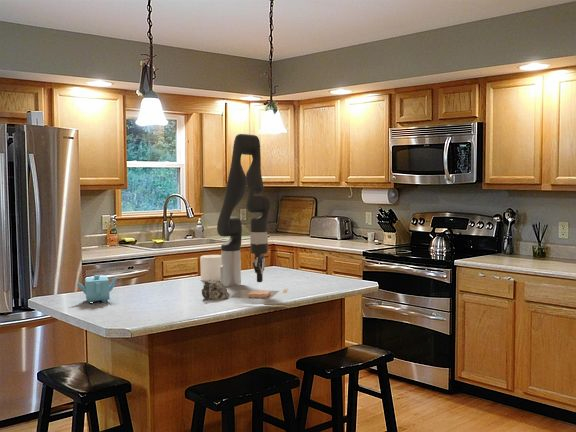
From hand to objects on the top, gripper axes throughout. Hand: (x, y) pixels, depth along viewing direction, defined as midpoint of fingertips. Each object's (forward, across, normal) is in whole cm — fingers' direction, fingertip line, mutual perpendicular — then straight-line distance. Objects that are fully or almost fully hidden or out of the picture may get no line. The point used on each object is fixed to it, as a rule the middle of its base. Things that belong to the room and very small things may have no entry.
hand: (259, 281), depth 278 cm
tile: (+5, -3, 0) cm, 6 cm away
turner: (+7, -9, +9) cm, 14 cm away
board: (+7, -3, -3) cm, 8 cm away
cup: (+7, -43, -36) cm, 57 cm away
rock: (+7, +6, -18) cm, 20 cm away
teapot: (+7, +17, -67) cm, 70 cm away
